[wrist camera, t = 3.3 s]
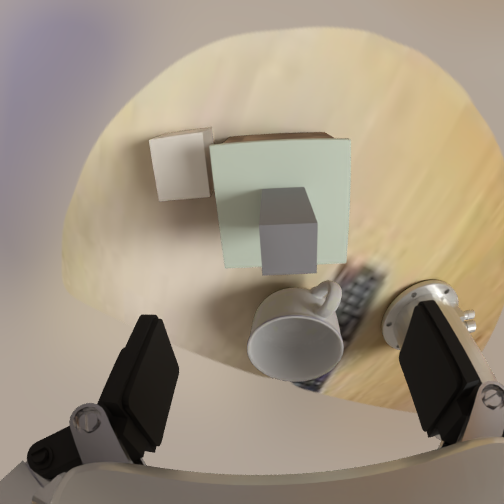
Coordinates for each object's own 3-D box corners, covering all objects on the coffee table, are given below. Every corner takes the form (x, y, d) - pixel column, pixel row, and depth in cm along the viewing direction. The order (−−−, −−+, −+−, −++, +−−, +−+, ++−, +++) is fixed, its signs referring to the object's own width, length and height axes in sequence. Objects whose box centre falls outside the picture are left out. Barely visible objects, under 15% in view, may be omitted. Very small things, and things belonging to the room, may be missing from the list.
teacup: (296, 349, 43) (299, 393, 36) (234, 315, 40) (227, 359, 33) (366, 286, 37) (384, 328, 30) (303, 239, 34) (311, 278, 27)
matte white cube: (212, 127, 29) (202, 132, 25) (218, 182, 32) (210, 197, 27) (166, 133, 29) (148, 139, 25) (173, 186, 32) (159, 201, 28)
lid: (348, 138, 21) (383, 158, 14) (344, 258, 26) (366, 315, 19) (211, 144, 22) (184, 166, 15) (226, 263, 27) (211, 322, 20)
